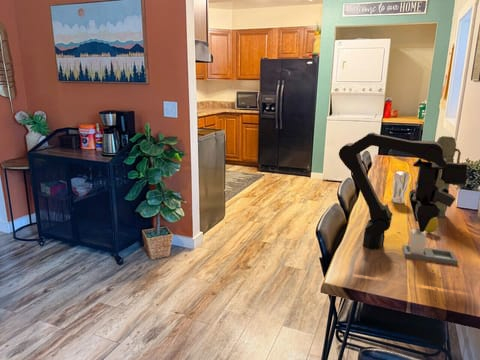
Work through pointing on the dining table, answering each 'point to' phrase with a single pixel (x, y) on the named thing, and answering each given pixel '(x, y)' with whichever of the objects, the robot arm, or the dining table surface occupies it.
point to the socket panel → (432, 255)
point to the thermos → (448, 153)
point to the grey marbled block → (400, 186)
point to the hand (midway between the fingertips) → (419, 226)
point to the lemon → (432, 225)
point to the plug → (417, 242)
